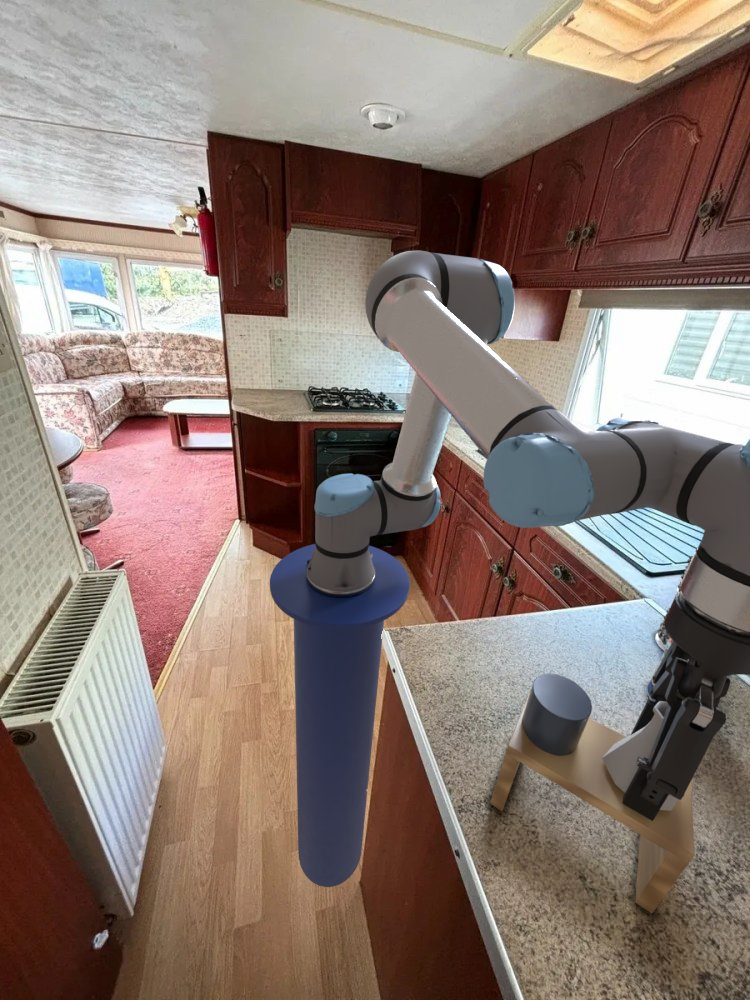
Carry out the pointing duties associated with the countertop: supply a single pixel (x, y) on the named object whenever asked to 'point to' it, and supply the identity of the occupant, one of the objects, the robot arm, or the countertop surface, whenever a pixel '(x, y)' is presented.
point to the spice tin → (556, 714)
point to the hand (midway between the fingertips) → (640, 775)
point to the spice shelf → (609, 804)
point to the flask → (636, 753)
